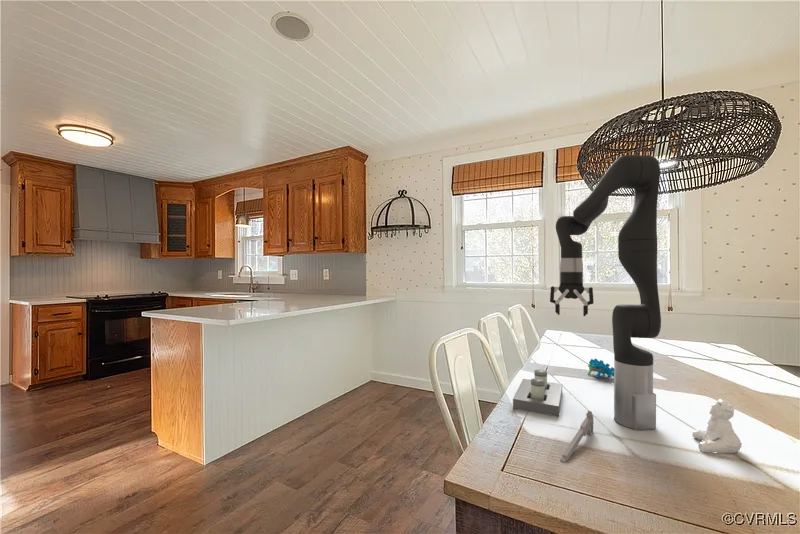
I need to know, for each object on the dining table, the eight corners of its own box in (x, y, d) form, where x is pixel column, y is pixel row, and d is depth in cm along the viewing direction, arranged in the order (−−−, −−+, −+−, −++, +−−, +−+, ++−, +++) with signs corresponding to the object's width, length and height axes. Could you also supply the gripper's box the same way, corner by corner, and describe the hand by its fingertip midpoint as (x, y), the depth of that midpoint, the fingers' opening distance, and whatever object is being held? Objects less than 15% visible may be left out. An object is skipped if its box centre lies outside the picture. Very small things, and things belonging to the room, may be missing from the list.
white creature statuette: (690, 435, 94) (690, 389, 94) (734, 443, 90) (734, 395, 89) (699, 452, 85) (700, 402, 85) (748, 461, 81) (748, 408, 81)
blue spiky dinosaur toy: (622, 375, 139) (606, 358, 137) (616, 388, 137) (599, 370, 135) (598, 371, 149) (583, 355, 148) (591, 383, 147) (576, 367, 146)
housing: (558, 416, 105) (558, 389, 105) (512, 408, 111) (512, 382, 111) (562, 392, 125) (562, 369, 125) (523, 386, 131) (523, 364, 131)
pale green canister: (546, 408, 111) (547, 382, 111) (534, 408, 111) (534, 382, 111) (540, 403, 116) (540, 378, 116) (528, 403, 115) (528, 378, 115)
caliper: (589, 432, 96) (589, 408, 96) (593, 433, 95) (593, 410, 95) (560, 462, 82) (560, 434, 82) (565, 464, 81) (565, 436, 81)
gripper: (593, 270, 131) (593, 315, 131) (550, 270, 137) (550, 312, 137) (593, 271, 124) (593, 317, 124) (549, 270, 131) (549, 315, 131)
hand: (571, 315), depth 131 cm, fingers open, 8 cm apart
